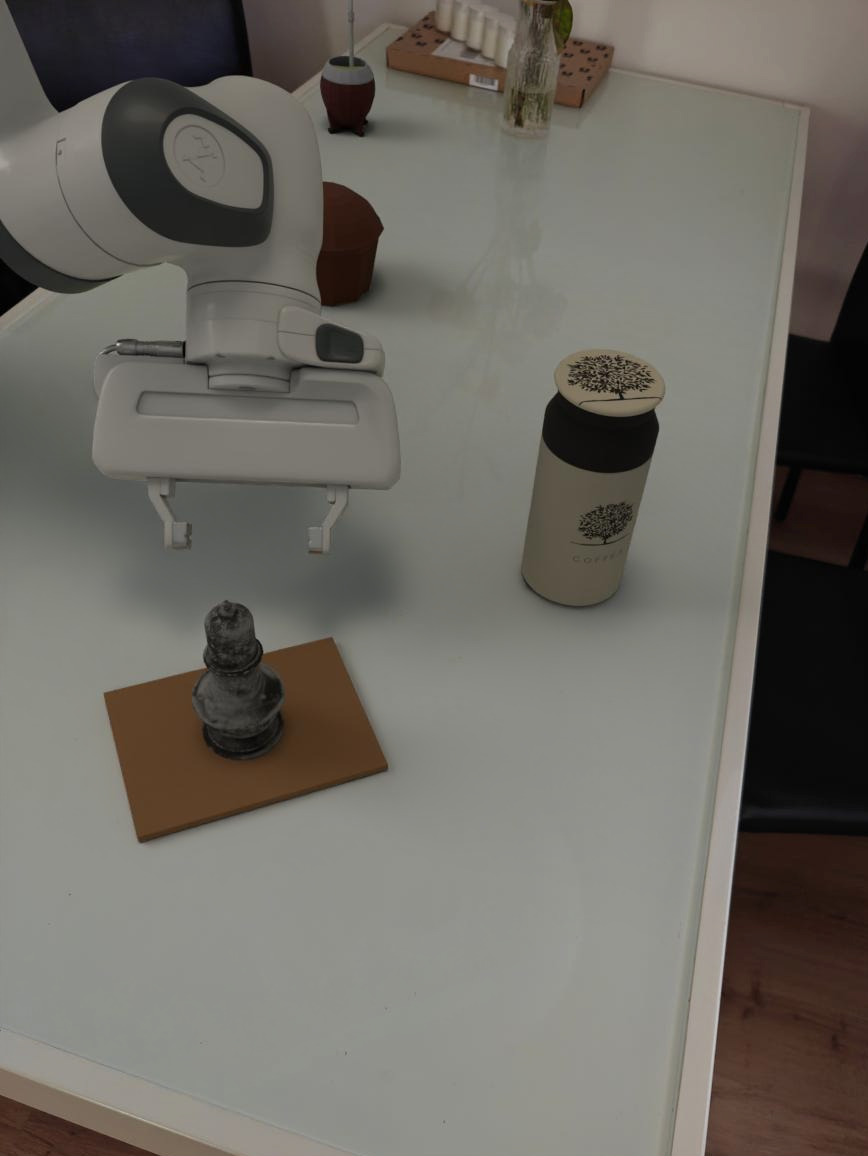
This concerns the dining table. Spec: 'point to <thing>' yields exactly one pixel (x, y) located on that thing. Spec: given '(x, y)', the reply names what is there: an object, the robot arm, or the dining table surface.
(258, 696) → the salt shaker
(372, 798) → the dining table surface
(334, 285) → the muffin
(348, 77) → the mate gourd
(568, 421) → the travel mug
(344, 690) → the cork mat
